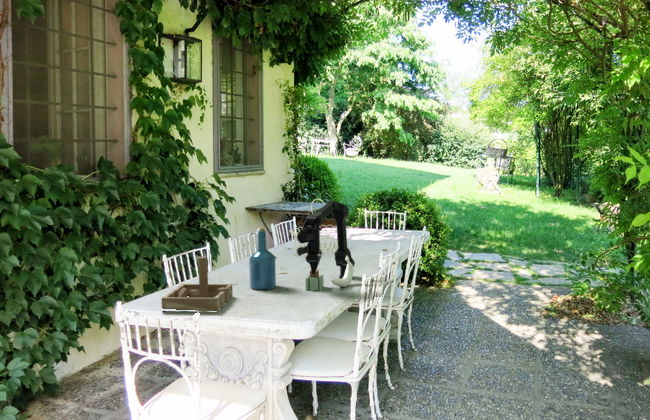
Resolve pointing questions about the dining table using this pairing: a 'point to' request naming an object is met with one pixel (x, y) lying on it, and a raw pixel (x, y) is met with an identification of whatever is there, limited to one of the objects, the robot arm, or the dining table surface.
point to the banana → (345, 275)
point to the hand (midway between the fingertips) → (314, 272)
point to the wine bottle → (262, 265)
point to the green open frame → (314, 283)
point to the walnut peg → (315, 275)
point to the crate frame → (197, 303)
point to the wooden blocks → (201, 283)
